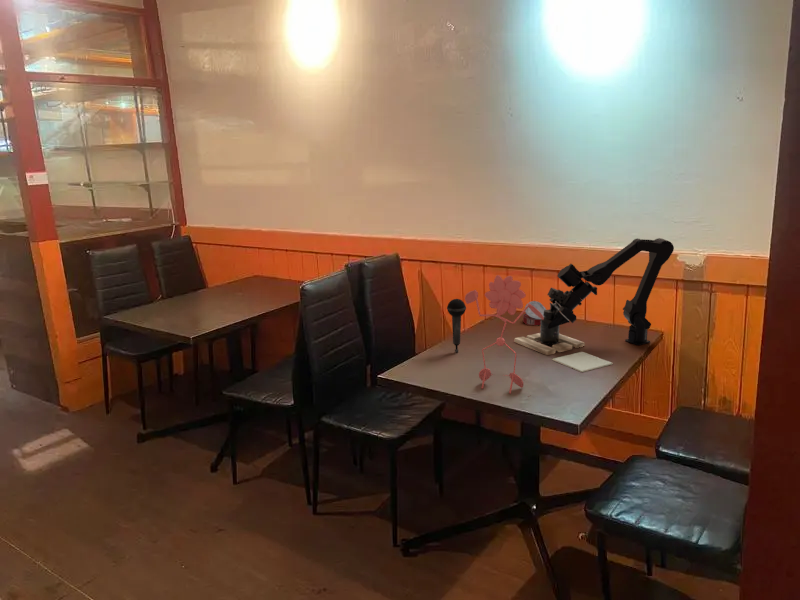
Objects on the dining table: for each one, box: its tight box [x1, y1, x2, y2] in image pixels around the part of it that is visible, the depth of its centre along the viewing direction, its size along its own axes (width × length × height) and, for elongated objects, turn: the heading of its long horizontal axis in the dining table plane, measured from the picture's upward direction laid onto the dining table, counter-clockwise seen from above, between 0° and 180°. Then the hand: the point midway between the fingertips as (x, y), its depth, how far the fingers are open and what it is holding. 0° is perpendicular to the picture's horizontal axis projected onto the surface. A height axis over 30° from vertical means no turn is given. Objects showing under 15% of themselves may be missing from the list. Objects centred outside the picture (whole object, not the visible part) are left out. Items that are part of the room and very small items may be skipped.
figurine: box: [464, 274, 544, 398], centre depth 192 cm, size 15×26×35 cm, turn 59°
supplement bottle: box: [539, 309, 560, 345], centre depth 231 cm, size 7×7×12 cm
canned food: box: [522, 300, 547, 327], centre depth 261 cm, size 11×10×10 cm
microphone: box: [446, 298, 467, 353], centre depth 224 cm, size 7×7×20 cm
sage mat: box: [552, 351, 613, 373], centre depth 213 cm, size 14×14×1 cm
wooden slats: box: [513, 332, 585, 356], centre depth 233 cm, size 18×18×2 cm
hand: (546, 325), depth 231 cm, fingers closed on supplement bottle, 7 cm apart
